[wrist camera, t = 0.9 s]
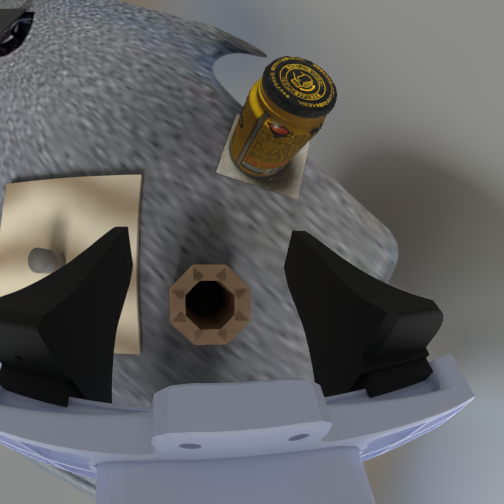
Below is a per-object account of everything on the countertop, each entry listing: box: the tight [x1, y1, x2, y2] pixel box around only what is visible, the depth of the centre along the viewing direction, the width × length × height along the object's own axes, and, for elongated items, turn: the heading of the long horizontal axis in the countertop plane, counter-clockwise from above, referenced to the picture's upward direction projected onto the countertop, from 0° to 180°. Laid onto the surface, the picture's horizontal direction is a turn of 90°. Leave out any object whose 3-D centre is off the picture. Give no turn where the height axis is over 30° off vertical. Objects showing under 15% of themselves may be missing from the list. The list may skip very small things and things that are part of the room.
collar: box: [169, 265, 250, 345], centre depth 22 cm, size 6×6×6 cm
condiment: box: [216, 56, 337, 200], centre depth 21 cm, size 7×8×12 cm
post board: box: [0, 175, 143, 354], centre depth 19 cm, size 16×16×5 cm
